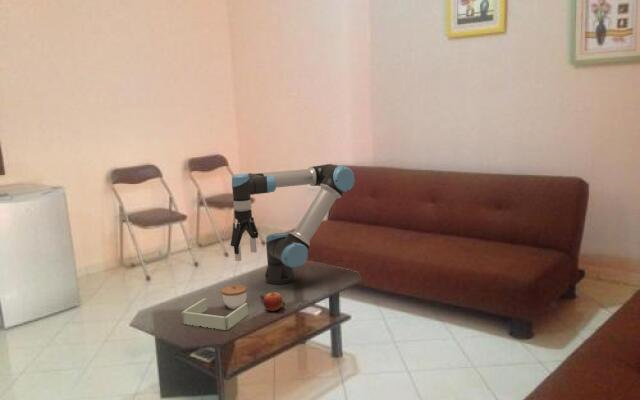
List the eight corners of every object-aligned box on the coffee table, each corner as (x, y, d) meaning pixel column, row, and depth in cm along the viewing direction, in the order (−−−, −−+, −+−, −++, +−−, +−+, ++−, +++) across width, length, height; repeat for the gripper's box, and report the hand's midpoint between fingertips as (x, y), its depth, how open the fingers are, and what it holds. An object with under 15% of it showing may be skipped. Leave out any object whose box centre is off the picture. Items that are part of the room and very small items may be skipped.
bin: (205, 309, 227) (204, 298, 226) (248, 314, 219) (247, 303, 218) (182, 324, 213) (181, 312, 212) (227, 330, 205) (226, 318, 204)
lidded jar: (243, 311, 223) (241, 289, 222) (218, 310, 225) (217, 289, 224) (251, 301, 234) (249, 281, 232) (228, 301, 236) (226, 280, 234)
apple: (286, 309, 222) (285, 291, 221) (270, 314, 218) (269, 296, 216) (276, 304, 229) (275, 286, 227) (260, 309, 224) (259, 291, 223)
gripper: (249, 203, 246) (252, 248, 250) (219, 215, 223) (223, 263, 227) (263, 204, 243) (266, 249, 247) (235, 215, 220) (239, 265, 224)
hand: (246, 256), depth 237 cm, fingers open, 13 cm apart
